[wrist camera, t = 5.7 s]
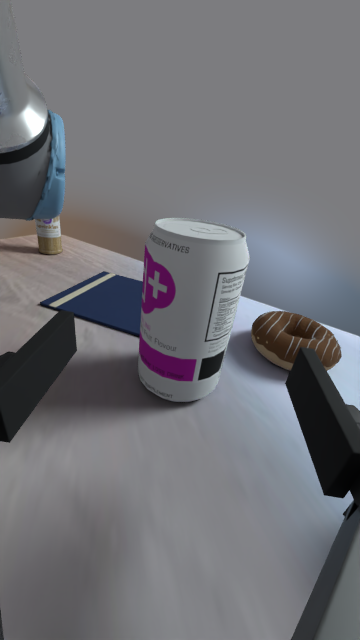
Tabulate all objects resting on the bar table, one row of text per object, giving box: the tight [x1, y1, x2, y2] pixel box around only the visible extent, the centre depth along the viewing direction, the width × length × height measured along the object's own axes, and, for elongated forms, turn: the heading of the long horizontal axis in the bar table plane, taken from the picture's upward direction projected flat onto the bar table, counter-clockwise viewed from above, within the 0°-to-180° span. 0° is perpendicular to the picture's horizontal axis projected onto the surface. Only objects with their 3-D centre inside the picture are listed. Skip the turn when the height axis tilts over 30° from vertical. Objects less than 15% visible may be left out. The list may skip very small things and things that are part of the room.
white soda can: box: [138, 218, 250, 402], centre depth 25 cm, size 8×8×15 cm
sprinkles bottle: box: [35, 215, 62, 254], centre depth 53 cm, size 5×5×13 cm
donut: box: [251, 311, 341, 371], centre depth 34 cm, size 11×11×4 cm
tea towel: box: [40, 272, 143, 337], centre depth 41 cm, size 20×15×1 cm
